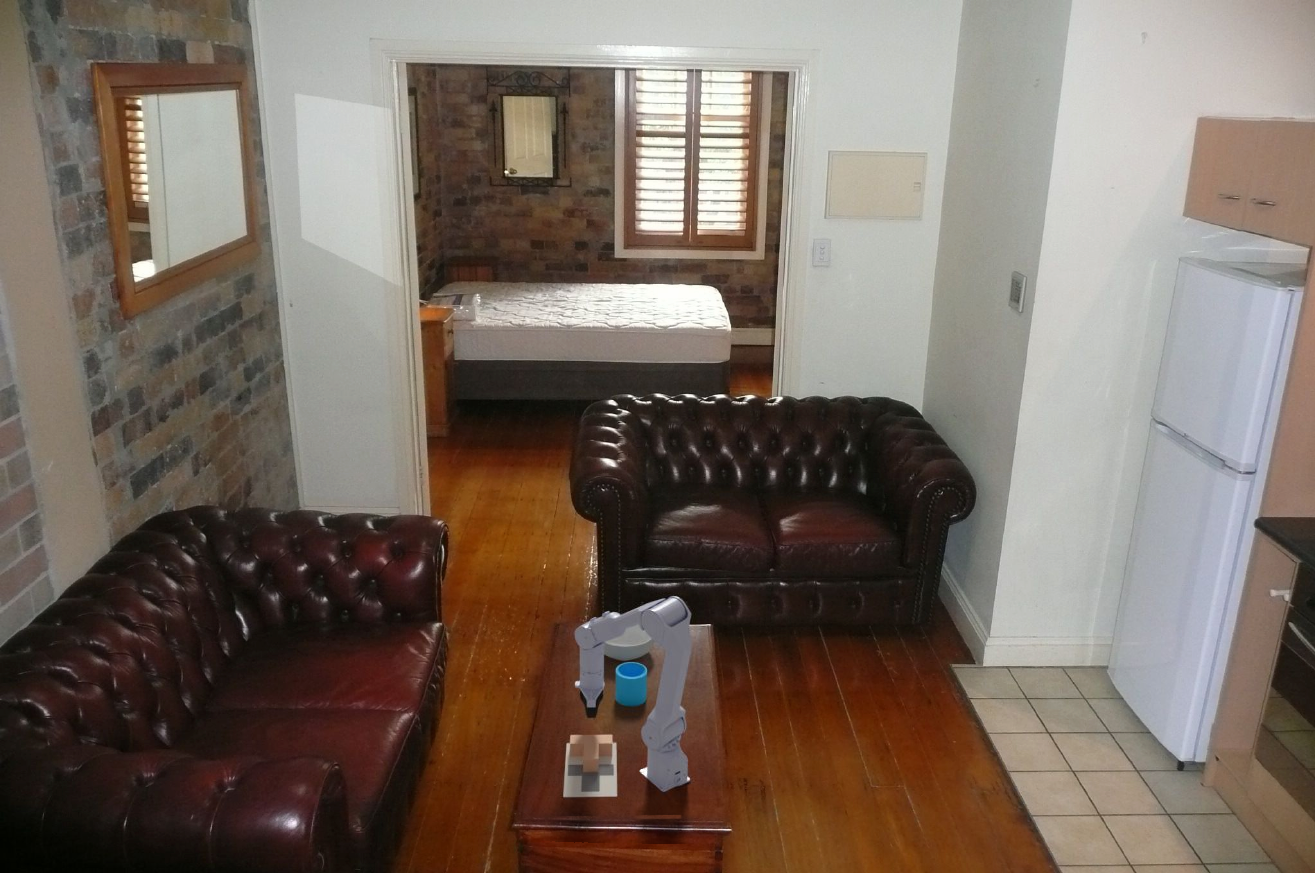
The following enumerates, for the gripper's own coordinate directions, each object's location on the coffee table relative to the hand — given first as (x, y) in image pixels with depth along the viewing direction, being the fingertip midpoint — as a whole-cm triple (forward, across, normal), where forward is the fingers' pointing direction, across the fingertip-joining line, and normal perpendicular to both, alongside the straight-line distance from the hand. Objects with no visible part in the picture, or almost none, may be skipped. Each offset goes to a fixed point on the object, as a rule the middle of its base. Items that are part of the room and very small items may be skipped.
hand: (591, 716), depth 249 cm
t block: (+5, +10, 0) cm, 11 cm away
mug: (+6, -19, +10) cm, 23 cm away
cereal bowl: (+6, -40, +9) cm, 41 cm away
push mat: (+6, +13, 0) cm, 15 cm away
